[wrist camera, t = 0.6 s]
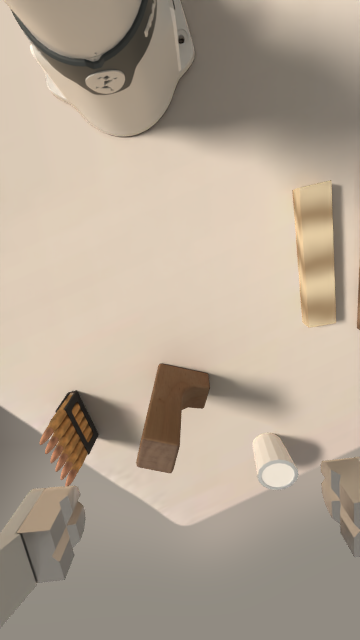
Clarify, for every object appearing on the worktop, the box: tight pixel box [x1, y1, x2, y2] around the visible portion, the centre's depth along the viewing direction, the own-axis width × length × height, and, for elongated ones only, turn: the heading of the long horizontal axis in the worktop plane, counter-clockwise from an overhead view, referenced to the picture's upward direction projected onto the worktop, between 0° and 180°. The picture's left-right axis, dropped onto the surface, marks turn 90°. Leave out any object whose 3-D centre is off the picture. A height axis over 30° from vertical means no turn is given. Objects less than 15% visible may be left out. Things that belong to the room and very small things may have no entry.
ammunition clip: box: [40, 391, 98, 486], centre depth 46 cm, size 11×2×12 cm, turn 17°
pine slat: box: [293, 180, 336, 328], centre depth 39 cm, size 20×4×3 cm, turn 12°
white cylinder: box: [252, 433, 298, 490], centre depth 49 cm, size 7×7×7 cm
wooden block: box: [136, 364, 210, 473], centre depth 39 cm, size 9×4×18 cm, turn 78°
